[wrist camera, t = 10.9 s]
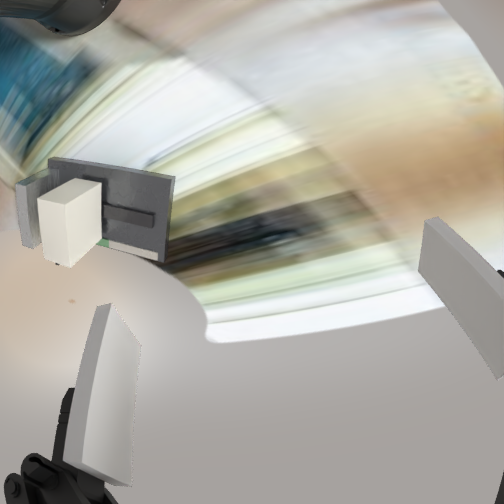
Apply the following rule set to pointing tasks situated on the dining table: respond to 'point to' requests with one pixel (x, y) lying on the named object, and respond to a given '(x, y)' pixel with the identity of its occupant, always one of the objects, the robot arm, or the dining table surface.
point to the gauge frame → (107, 205)
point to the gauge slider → (70, 220)
